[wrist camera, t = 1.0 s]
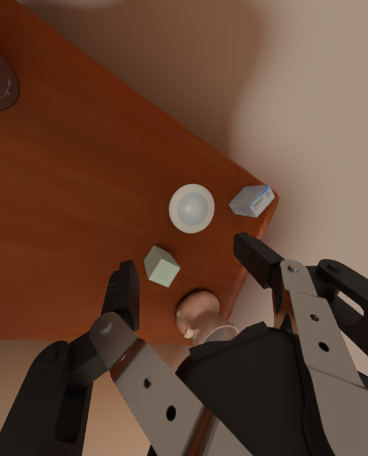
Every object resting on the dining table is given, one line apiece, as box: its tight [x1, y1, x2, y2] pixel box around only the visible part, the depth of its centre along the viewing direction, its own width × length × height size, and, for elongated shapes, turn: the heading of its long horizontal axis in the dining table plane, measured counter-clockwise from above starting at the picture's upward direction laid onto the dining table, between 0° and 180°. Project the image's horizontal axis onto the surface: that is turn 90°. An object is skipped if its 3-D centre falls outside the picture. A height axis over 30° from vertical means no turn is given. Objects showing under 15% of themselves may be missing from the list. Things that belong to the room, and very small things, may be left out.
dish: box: [169, 184, 214, 233], centre depth 40 cm, size 13×13×1 cm
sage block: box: [144, 245, 180, 287], centre depth 35 cm, size 5×5×9 cm
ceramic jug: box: [176, 291, 239, 347], centre depth 42 cm, size 18×14×14 cm
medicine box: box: [228, 185, 275, 217], centre depth 41 cm, size 8×4×9 cm, turn 133°
